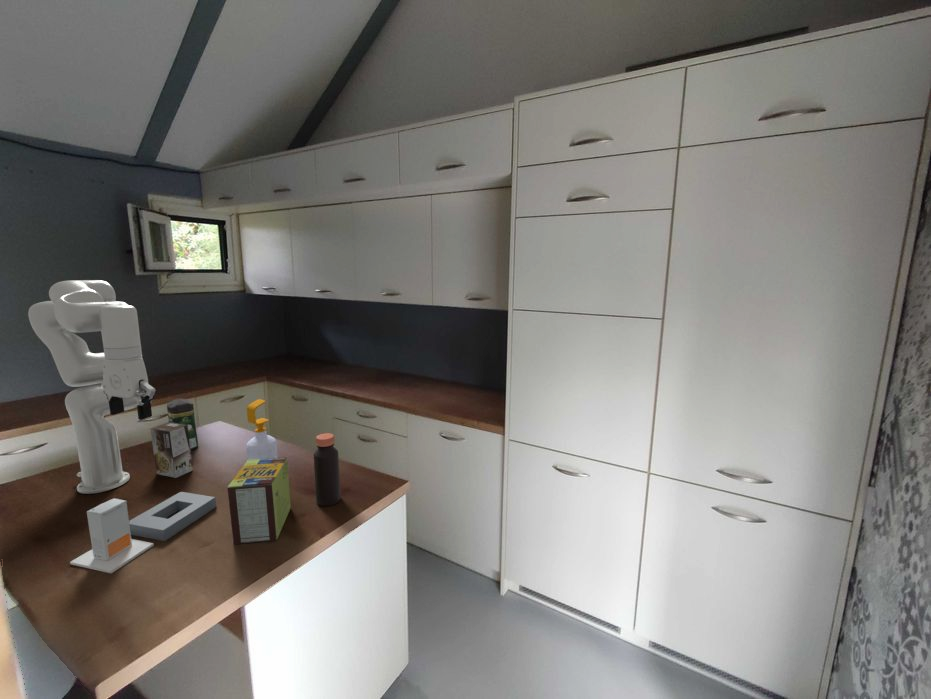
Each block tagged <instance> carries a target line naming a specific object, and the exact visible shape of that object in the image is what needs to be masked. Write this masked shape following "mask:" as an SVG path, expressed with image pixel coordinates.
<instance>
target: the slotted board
mask: <svg viewBox="0 0 931 699" xmlns="http://www.w3.org/2000/svg"><path fill="white" fill-rule="evenodd" d="M215 508H217V500H216V496H210V495H205V494H197V493H193V492H185V491H180V492H178V493H176V494H174V495H172V496H170V497H169V498H167V499H165V500H164V501H162V502H160V503H159V504H157V505H154V506H152V508H150V509H148V510H145V511H144V512H142V513H141V514H139V515H137V516H135V517H133V518H132V519H130V520H129V525H130V532H131V536H135V537H142V538H147V539H152V540H156V541H157V540H158V541H162V542H165V541H167V540H168V539H170V538H172V537H173V536H175V535H176V534H178V533H179V532H181V531H182V530H184V529H185V528H187V527H188V526H189V525H191V524H193V523H194V522H196V521H197V520H199V519H200V518H202V517H203V516H205V515H206V514H207V513H209V512H211V511H212V510H214V509H215ZM176 512H177V513H176ZM170 516H171V517H170ZM168 517H169V518H168Z"/></svg>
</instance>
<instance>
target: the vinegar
mask: <svg viewBox="0 0 931 699" xmlns="http://www.w3.org/2000/svg"><path fill="white" fill-rule="evenodd" d="M315 441H316V447H317V448H316V450H315V451H314V453H313V465H314V466H313V469H314V484H315V496H316V497H315V500H316V504H317V505H319V506H321V507H330V506H333V505H336V504H337V503H339V502H340V500H341V483H340V482H341V481H340V463H339V462H340V461H339V460H340V459H339V450H338V449H337V448H336V447H334V445H335V435H334V434H333V433H329V432H326V433H322V434H318V435H316V436H315Z"/></svg>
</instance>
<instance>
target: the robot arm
mask: <svg viewBox="0 0 931 699" xmlns="http://www.w3.org/2000/svg"><path fill="white" fill-rule="evenodd" d="M48 296H49V299H50V300H45V301H41V302H37V303H33V304H32V305H31V306H30V307H29V309H28V320H29V323H30V326H31V327H32V330H33V332H34V333H35V334H36V336H37V338H38V339H40V340H41V342H42V343H43V344H44V345H45V346H46V347H47V348H48V350H49V351H50V353H51V356H52V358H53V361H54V363H55V366H56V368H57V370H58V373H59V376H60V377H61V379H62V381H63V383H64V384H65V385H66V386H68V387H74V388H75V387H77V388H75V389H74V390H71V391H70V392H69V393H67V394H66V396H65V399H64V405H65V409H66V411H67V413H68V415H69V418H70V421H71V424H72V428H73V432H74V437H75V443H76V448H77V454H78V459H79V460H78V461H79V467H80V471H79V472H77V474H76V476H77V477H79V478H81V481H80V483H78V485H77V486H76V490H77V492H78V493H79V494H84V495H85V494H87V495H90V494H98V493H99V494H100V493H104V492H107V491H110V490H113V489H115V488H118V487H121V486H122V485H124V484H126V483H127V482H128V481H130V478H131V477H130V473H129V472H127V471H124V470H123V466H122V465H123V464H122V457H121V450H120V445H119V438H118V432H117V428H116V426H115V424H114V423H113V422H112V421H110V420H108V419H106V418H105V417H104V416H107V415H112V416H115V415H118V414H121V413H123V412H125V411H128V410H131V409H135V408H136V409H137V418H138V420H140V421H143V420H145V419H148V418H149V419H150V418H151V417H152V416H153V412H152V404H151V403H153V399H154V398H155V393H156V388H155V387H153V386H152V385H151V384H149V377H148V374H147V369H146V364H145V362H144V358H143V352H142V344H141V337H140V336H141V335H140V326H139V317H138V310H137V308H136V307H135V306H133V305H129V304H128V303H126V302H124V301H117V300H116V299H117V297H116V296H117V295H116V292H115V289H114V287H113V286H112V285H111V284H110V283H109V282H107V281H105V280H100V279H94V280H93V279H91V280H90V279H85V280H83V279H81V280H79V279H78V280H76V279H75V280H63V281H58V282H56V283H54V284H52V285H51V287H50V288H49V290H48ZM93 332H100V333H101V339H102V346H103V352H96V353H93V352H91V351H90V349H89V347H88V344H87V342H86V341H85V339H83V338H82V337H80V336H79V335H77V334H79V333H80V334H81V333H93ZM75 333H76V334H75ZM78 387H79V388H78ZM141 397H142V398H141Z"/></svg>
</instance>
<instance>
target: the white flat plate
mask: <svg viewBox="0 0 931 699" xmlns="http://www.w3.org/2000/svg"><path fill="white" fill-rule="evenodd" d="M131 540H132V546H131V547H129V548H127V549H126V550H124V551H122V552H120V553H119V554H117V555H116V556H114V557H112V558H111V559H109V560H108V561H105V560H101V559H96V558H94V557H93V550H92V549H90V550H88V551H86V552H84V553H83V554H81V555H80V556H78V557H77V558H74V559H73V560H71V561H70V562H69V564H70V565H71V566H76V567H81V568H84V569H85V568H86V569H90V570H95V571H99V572H103V573H108V574H113V573H114V572H116V571H117V570H119V569H120V568H122V567H123V566H125V565H126V564H128V563H130V562H131V561H133V560H134V559H136V558H137V557H139V556H140V555H141V554H143V553H144V552H146V551H147V550H149V549H151V548H152V547H154V546H155V545H154V544H155V543H154V542H149V541H145V540H140V539H139V540H138V539H135V538H134V539H133V538H131Z"/></svg>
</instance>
